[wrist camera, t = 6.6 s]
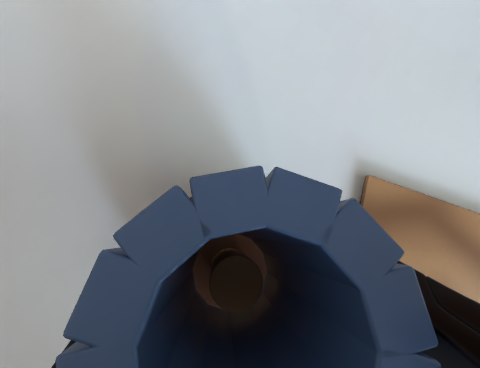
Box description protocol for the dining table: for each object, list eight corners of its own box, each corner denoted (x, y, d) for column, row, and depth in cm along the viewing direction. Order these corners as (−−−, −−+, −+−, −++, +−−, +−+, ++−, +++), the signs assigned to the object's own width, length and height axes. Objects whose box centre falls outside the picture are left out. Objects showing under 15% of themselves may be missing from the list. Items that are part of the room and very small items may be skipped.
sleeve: (268, 350, 11) (411, 672, 3) (152, 312, 11) (-35, 539, 3) (299, 232, 13) (458, 229, 4) (196, 197, 12) (156, 123, 4)
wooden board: (571, 561, 15) (581, 570, 14) (302, 476, 14) (305, 483, 14) (569, 247, 19) (576, 248, 19) (365, 175, 19) (368, 174, 18)
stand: (269, 349, 16) (322, 465, 8) (138, 306, 15) (58, 382, 8) (303, 219, 18) (372, 207, 10) (189, 179, 17) (167, 135, 10)
